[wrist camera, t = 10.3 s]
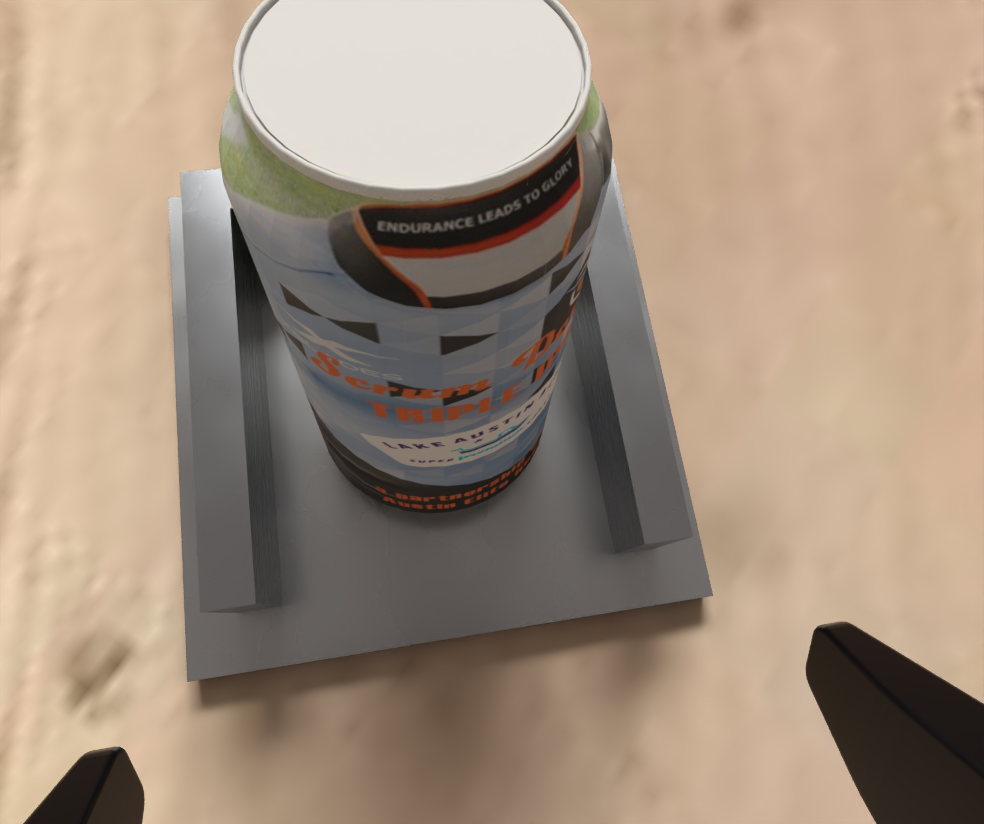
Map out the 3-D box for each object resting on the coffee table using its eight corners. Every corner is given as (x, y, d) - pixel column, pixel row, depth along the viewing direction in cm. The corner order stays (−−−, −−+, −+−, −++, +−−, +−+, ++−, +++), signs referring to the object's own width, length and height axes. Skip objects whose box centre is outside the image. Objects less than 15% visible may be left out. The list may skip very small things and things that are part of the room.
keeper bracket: (702, 596, 20) (760, 592, 17) (197, 679, 19) (140, 694, 15) (605, 164, 24) (636, 84, 21) (177, 203, 23) (126, 124, 19)
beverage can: (356, 551, 19) (234, 422, 8) (293, 310, 21) (120, -78, 10) (576, 483, 20) (755, 280, 9) (495, 259, 22) (555, -147, 11)
